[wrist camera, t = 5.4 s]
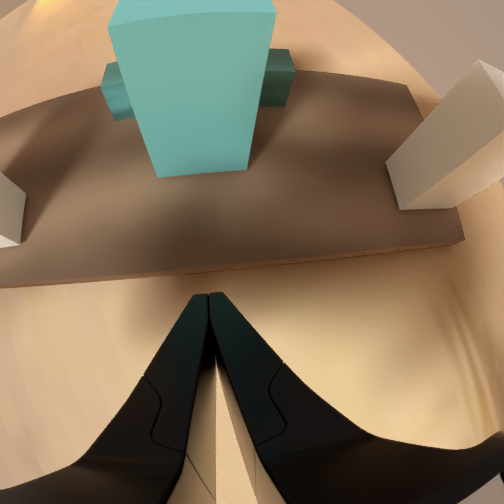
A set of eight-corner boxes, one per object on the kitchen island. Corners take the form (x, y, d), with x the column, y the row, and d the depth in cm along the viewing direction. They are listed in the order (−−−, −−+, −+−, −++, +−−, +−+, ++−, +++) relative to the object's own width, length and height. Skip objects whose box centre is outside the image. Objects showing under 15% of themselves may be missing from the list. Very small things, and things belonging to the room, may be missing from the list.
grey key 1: (452, 208, 16) (556, 140, 7) (399, 210, 15) (515, 121, 6) (437, 165, 16) (527, 86, 8) (385, 161, 16) (477, 58, 7)
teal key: (246, 170, 15) (276, 12, 6) (157, 177, 14) (107, 27, 5) (240, 123, 15) (260, -26, 7) (159, 129, 15) (126, -15, 6)
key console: (453, 244, 17) (496, 225, 13) (-23, 289, 13) (-66, 278, 9) (399, 94, 20) (423, 60, 16) (7, 126, 16) (-19, 95, 12)
